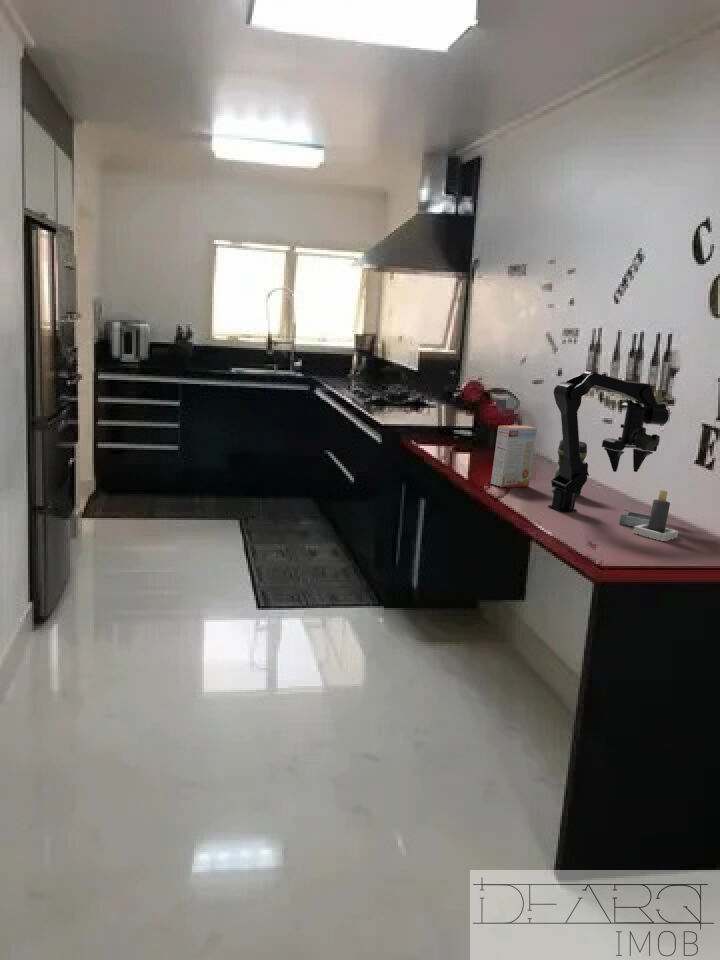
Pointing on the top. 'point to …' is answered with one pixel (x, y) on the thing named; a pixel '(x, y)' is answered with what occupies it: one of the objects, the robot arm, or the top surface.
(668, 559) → the top surface
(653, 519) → the plug
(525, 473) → the cracker box
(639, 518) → the grey tray
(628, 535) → the top surface
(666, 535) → the socket
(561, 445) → the coffee jar
